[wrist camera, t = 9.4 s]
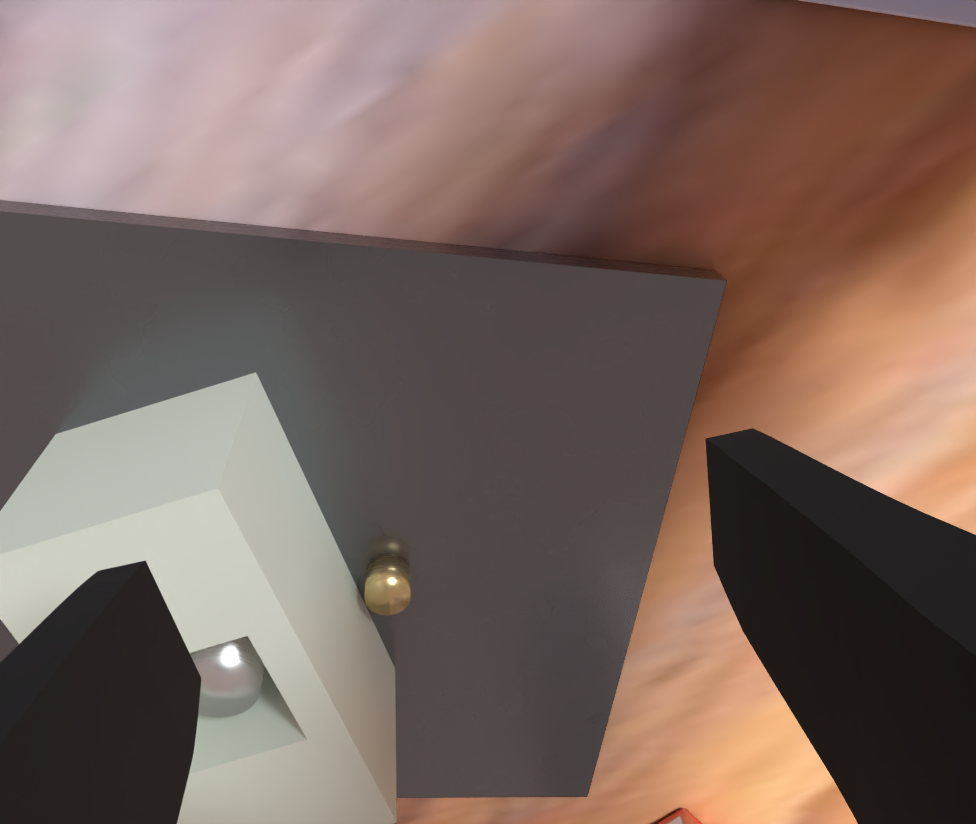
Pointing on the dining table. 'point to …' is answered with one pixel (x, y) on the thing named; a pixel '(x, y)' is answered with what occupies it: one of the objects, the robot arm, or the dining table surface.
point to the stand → (400, 446)
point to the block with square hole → (222, 595)
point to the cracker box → (680, 818)
